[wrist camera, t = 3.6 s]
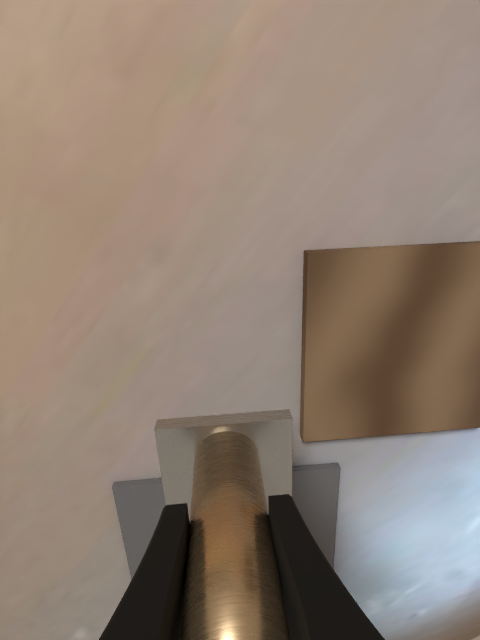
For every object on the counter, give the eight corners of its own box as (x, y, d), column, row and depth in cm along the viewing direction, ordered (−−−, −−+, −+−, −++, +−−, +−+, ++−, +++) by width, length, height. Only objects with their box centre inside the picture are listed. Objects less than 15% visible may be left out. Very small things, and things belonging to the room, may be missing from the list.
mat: (338, 462, 22) (340, 467, 22) (325, 641, 28) (327, 647, 28) (113, 482, 21) (111, 487, 21) (151, 661, 27) (150, 667, 27)
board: (513, 239, 18) (526, 241, 17) (474, 419, 22) (483, 427, 21) (303, 250, 17) (308, 253, 17) (300, 433, 21) (303, 441, 20)
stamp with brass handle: (157, 419, 13) (63, 784, 5) (289, 409, 13) (406, 741, 5) (173, 536, 15) (127, 932, 7) (288, 525, 15) (371, 894, 7)
